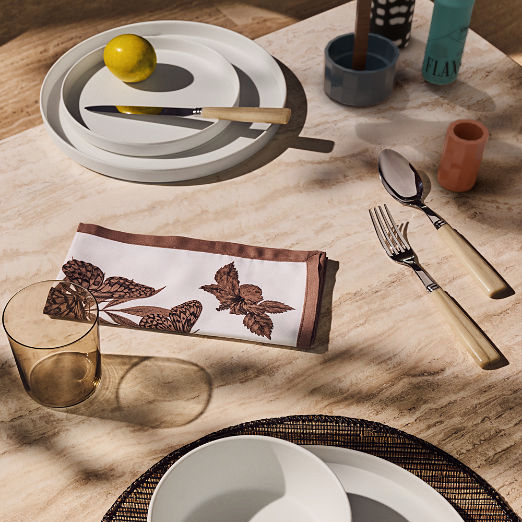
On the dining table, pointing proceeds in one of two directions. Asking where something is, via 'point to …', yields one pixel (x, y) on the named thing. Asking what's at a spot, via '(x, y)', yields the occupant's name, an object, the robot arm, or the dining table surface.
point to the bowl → (360, 82)
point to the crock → (462, 154)
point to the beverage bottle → (446, 40)
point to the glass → (392, 20)
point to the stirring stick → (361, 34)
